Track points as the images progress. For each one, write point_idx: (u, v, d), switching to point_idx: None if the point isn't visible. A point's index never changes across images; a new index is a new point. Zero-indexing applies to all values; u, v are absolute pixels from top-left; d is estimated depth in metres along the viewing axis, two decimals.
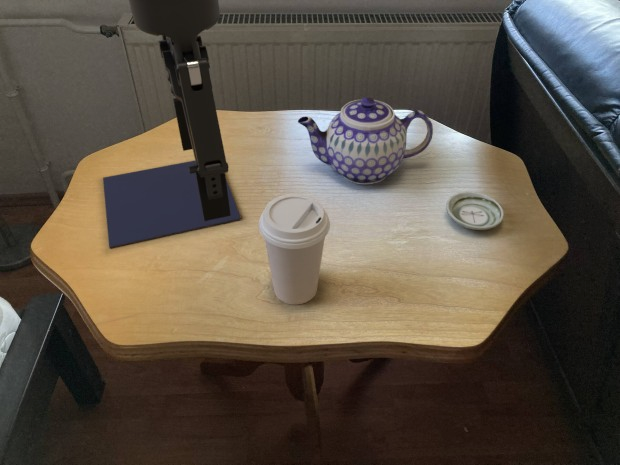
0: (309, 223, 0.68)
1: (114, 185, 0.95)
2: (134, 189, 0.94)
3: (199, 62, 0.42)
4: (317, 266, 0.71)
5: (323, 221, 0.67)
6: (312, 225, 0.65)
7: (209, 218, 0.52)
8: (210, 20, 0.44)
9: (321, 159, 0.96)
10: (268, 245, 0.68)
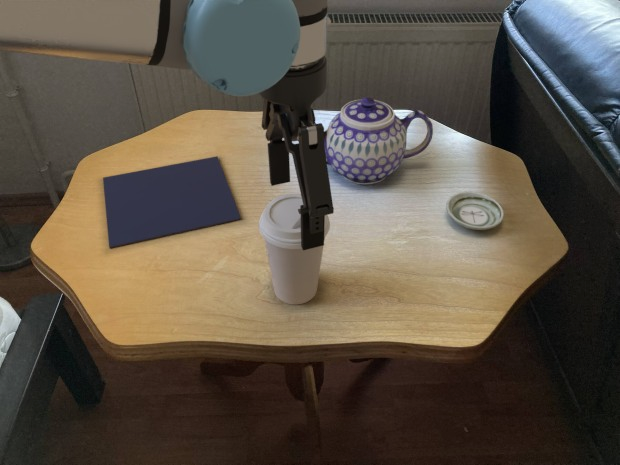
0: None
1: (114, 185, 0.95)
2: (134, 189, 0.94)
3: (317, 127, 0.52)
4: (317, 266, 0.71)
5: None
6: None
7: (307, 248, 0.62)
8: (322, 91, 0.54)
9: None
10: (268, 245, 0.68)
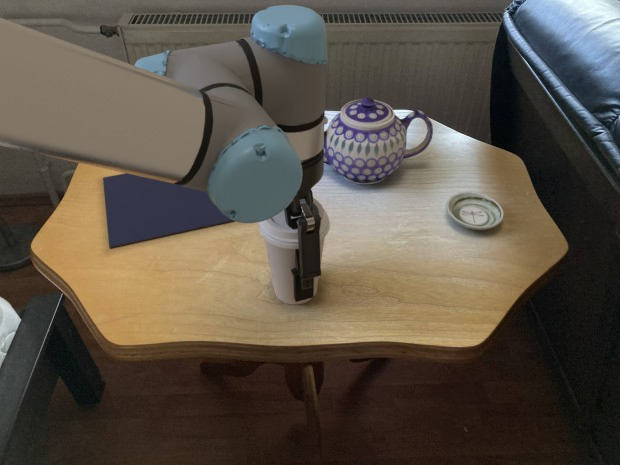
0: None
1: (114, 185, 0.95)
2: (134, 189, 0.94)
3: (315, 220, 0.60)
4: None
5: (323, 221, 0.67)
6: None
7: (299, 300, 0.73)
8: (319, 177, 0.61)
9: None
10: (268, 245, 0.68)
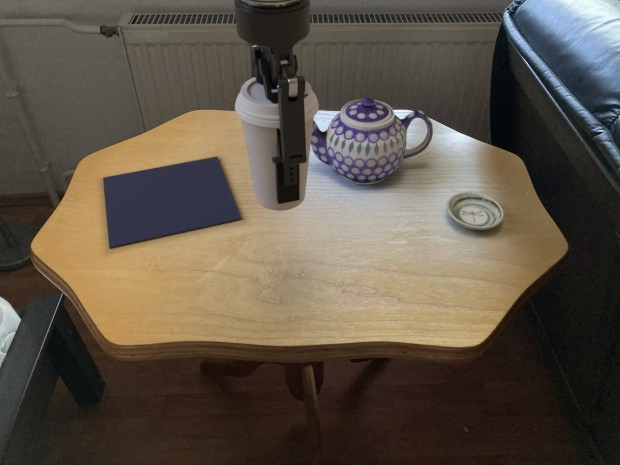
0: None
1: (114, 185, 0.95)
2: (134, 189, 0.94)
3: (298, 81, 0.50)
4: None
5: (310, 98, 0.56)
6: None
7: (282, 202, 0.62)
8: (304, 33, 0.51)
9: (321, 159, 0.96)
10: (246, 129, 0.58)
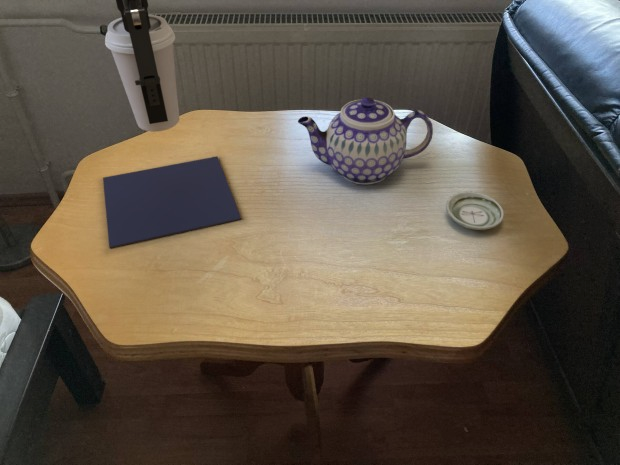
0: None
1: (114, 185, 0.95)
2: (134, 189, 0.94)
3: (139, 11, 0.63)
4: (167, 86, 0.74)
5: (163, 31, 0.70)
6: (150, 31, 0.69)
7: (152, 122, 0.76)
8: None
9: (321, 159, 0.96)
10: (114, 58, 0.71)
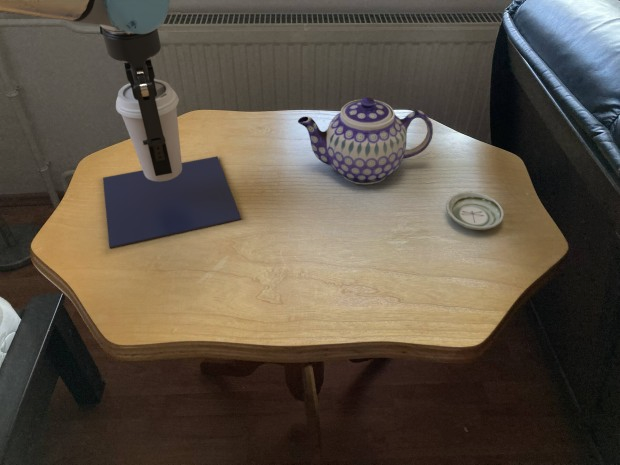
0: None
1: (114, 185, 0.95)
2: (134, 189, 0.94)
3: (147, 85, 0.72)
4: (172, 143, 0.83)
5: (168, 97, 0.78)
6: (156, 98, 0.77)
7: (158, 174, 0.84)
8: (153, 51, 0.73)
9: (321, 159, 0.96)
10: (124, 120, 0.79)
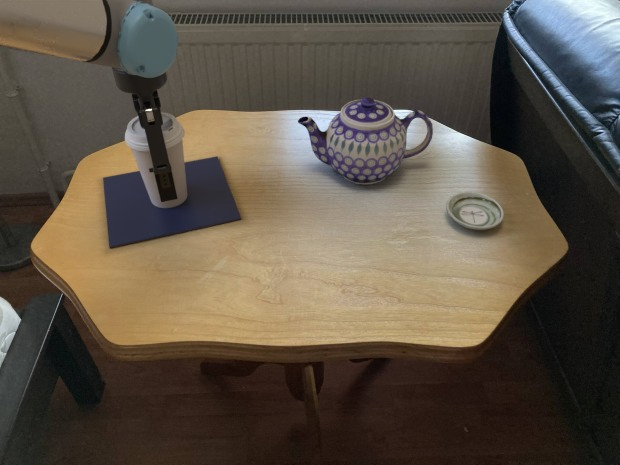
0: None
1: (114, 185, 0.95)
2: (134, 189, 0.94)
3: (152, 109, 0.74)
4: (178, 172, 0.87)
5: (175, 130, 0.82)
6: (163, 132, 0.81)
7: (164, 200, 0.84)
8: (160, 84, 0.76)
9: (321, 159, 0.96)
10: (132, 151, 0.83)
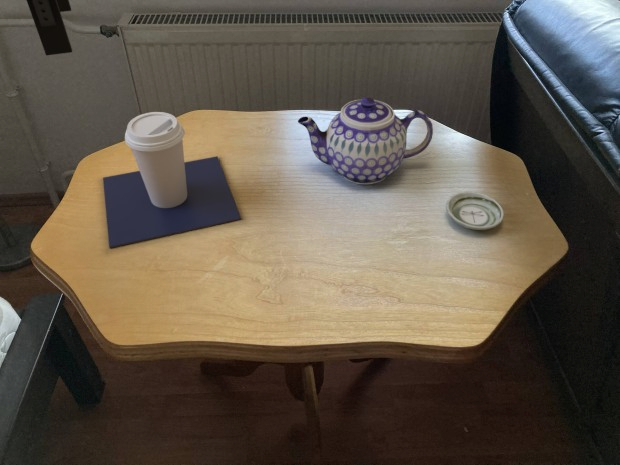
0: None
1: (114, 185, 0.95)
2: (134, 189, 0.94)
3: None
4: (178, 172, 0.87)
5: (175, 131, 0.82)
6: (163, 132, 0.81)
7: (50, 52, 0.56)
8: None
9: (321, 159, 0.96)
10: None
